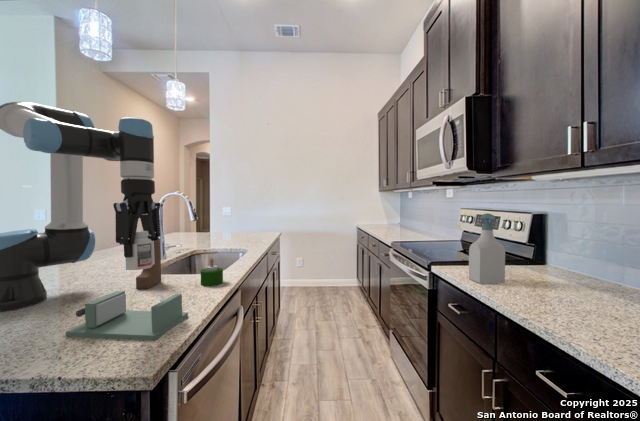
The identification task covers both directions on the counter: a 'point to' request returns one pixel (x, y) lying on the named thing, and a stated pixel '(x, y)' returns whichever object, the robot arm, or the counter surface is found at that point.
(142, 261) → the pill bottle
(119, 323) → the vise
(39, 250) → the robot arm
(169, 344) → the counter surface
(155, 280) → the wooden block
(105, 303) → the sliding jaw
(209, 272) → the candle
